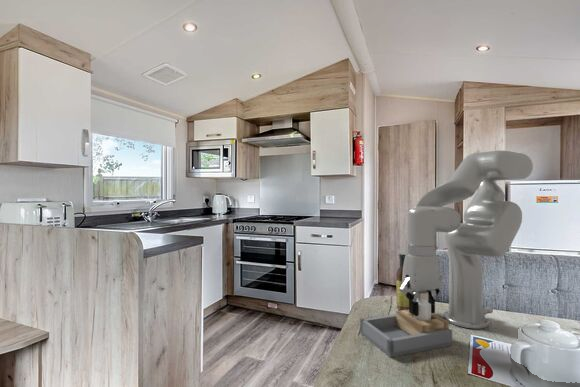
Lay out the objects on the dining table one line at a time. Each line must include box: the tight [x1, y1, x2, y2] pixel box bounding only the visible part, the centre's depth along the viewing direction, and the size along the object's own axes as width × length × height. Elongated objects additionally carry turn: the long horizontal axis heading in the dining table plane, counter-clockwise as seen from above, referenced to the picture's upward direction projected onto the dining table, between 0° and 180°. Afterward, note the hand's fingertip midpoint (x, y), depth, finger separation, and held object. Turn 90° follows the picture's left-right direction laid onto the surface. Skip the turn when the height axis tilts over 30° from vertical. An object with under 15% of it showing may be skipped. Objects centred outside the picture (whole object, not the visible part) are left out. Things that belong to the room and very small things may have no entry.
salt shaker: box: [414, 291, 431, 321], centre depth 88 cm, size 4×4×10 cm
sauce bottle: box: [395, 252, 414, 311], centre depth 108 cm, size 6×6×20 cm
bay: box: [359, 313, 453, 358], centre depth 86 cm, size 20×14×4 cm
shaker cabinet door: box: [395, 309, 450, 335], centre depth 88 cm, size 9×11×4 cm
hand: (421, 312), depth 88 cm, fingers closed on salt shaker, 5 cm apart
